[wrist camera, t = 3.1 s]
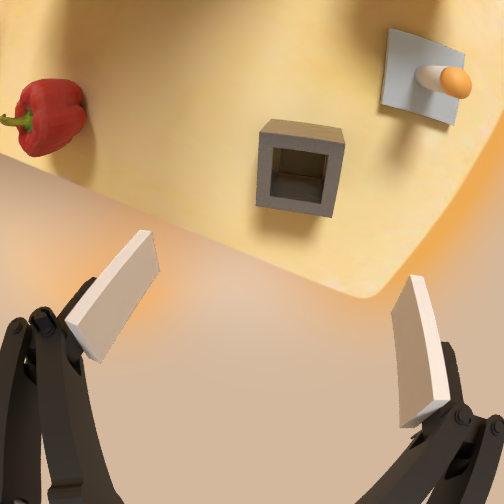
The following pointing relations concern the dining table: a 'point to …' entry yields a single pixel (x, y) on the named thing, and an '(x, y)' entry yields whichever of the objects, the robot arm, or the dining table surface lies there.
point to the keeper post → (423, 76)
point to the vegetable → (47, 115)
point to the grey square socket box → (297, 186)
